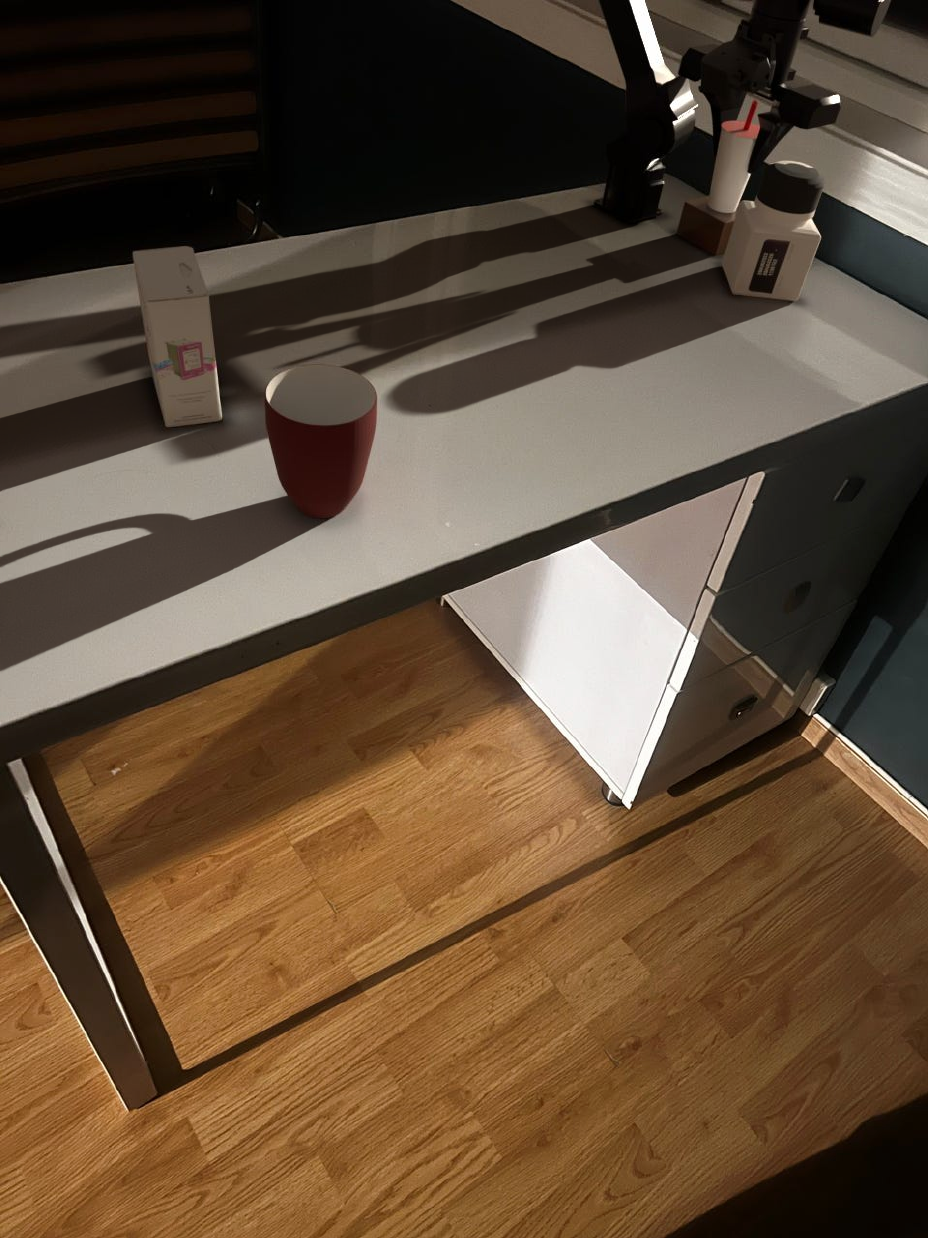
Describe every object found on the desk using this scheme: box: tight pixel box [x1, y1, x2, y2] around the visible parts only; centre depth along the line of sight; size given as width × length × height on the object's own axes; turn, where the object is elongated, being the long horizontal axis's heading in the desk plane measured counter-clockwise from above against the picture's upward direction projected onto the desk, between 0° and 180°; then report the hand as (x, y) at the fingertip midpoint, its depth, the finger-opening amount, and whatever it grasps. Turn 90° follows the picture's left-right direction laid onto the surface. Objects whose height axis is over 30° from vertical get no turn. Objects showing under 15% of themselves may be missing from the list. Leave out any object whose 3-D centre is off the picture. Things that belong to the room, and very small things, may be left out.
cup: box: [708, 99, 760, 213], centre depth 113 cm, size 5×5×12 cm
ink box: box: [132, 245, 223, 428], centre depth 81 cm, size 9×5×12 cm, turn 21°
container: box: [721, 160, 826, 302], centre depth 109 cm, size 8×8×13 cm
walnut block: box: [675, 194, 740, 256], centre depth 119 cm, size 6×6×4 cm
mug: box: [264, 363, 378, 519], centre depth 74 cm, size 10×8×10 cm
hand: (734, 164), depth 114 cm, fingers closed on cup, 5 cm apart
